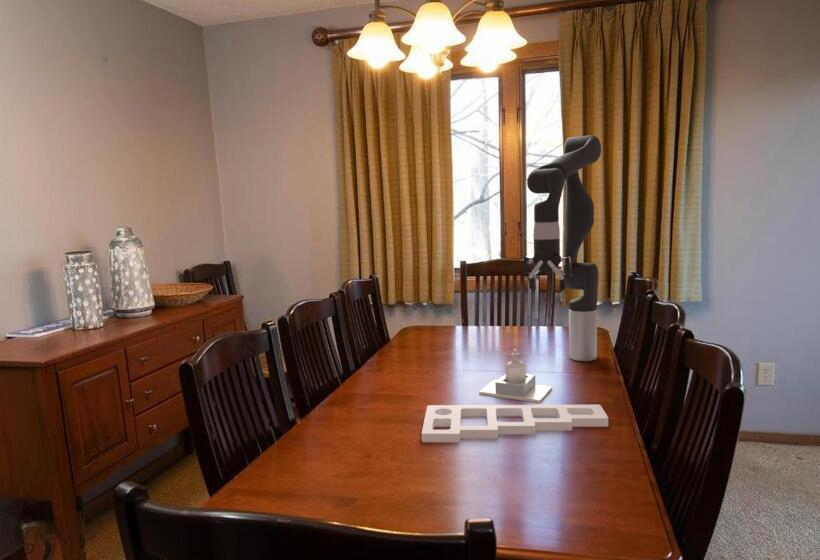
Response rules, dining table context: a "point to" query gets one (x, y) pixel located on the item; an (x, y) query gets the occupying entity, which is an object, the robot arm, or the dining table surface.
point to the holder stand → (517, 389)
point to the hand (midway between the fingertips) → (547, 291)
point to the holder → (453, 413)
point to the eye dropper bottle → (515, 369)
